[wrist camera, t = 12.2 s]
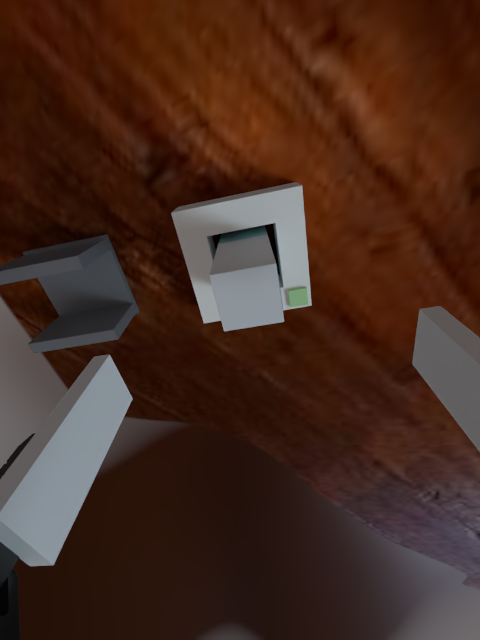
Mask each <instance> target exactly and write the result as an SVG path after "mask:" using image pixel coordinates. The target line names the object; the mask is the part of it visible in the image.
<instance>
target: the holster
mask: <svg viewBox="0 0 480 640" xmlns="http://www.w3.org/2000/svg"><path fill="white" fill-rule="evenodd" d="M23 254H24V255H23V256H21V257H19V258H17V259H15V260H12V261H10V262H8V263H6V264H4V265H2V266H0V285H2V284H7V283H12V282H17V281H22V280H27V279H33V278H38V280H39V282H40V284H41V285H42V287H43V289H44V291H45V292H46V294H47V296H48V297H49V299H50V301H51V303H52V304H53V306H54V308H55V309H56V311H57V313H58V315H59V317H58V318H57V319H56V320H55V321H53V322H52V323H51V324H50V325H49V326H48V327H47V328H45V329H44V330H43V331H42V332H41V333H40V334H39V335H38V336H36V337H35V338H34V339H33V340H32V341H31V342H30V343H28V345H29V347H30V348H31V350H32V351H33V353H38V352H44V351H51V350H57V349H63V348H69V347H75V346H81V345H87V344H93V343H99V342H105V341H111V340H118V339H119V337H120V336H121V334H122V333H123V331H124V330H125V328H126V327H127V325H128V324H129V323H130V321H131V320H132V318H133V317H134V315H135V314H138V313H139V309H138V306H137V304H136V302H135V299H134V297H133V295H132V292H131V290H130V287H129V285H128V283H127V280H126V278H125V275H124V273H123V271H122V268H121V266H120V263H119V261H118V259H117V256H116V254H115V252H114V249H113V247H112V244H111V242H110V240H109V237H108V235H107V234H105V235H100V236H95V237H91V238H86V239H81V240H76V241H71V242H66V243H61V244H57V245H52V246H47V247H42V248H37V249H32V250H28V251H25V252H23Z"/></svg>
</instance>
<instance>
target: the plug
mask: <svg viewBox="0 0 480 640" xmlns="http://www.w3.org/2000/svg"><path fill="white" fill-rule="evenodd" d="M209 276H210V280H211V284H212V288H213V292H214V296H215V300H216V303H217V307H218V311H219V315H220V319H221V322H222V326H223V329H224V331H230V330H236V329H242V328H248V327H254V326H261V325H267V324H273V323H279V322H284V317H283V305H282V298H281V290H280V283H279V275H278V272H277V266H276V261H275V258H274V254H273V251H272V248H271V245H270V241H269V238H268V235H267V231H266V228H265V226H263V227H258V228H253V229H248V230H243V231H238V232H233V233H228V234H222V235H221V236H220V240H219V243H218V247H217V250H216V254H215V257H214V261H213V264H212V268H211V271H210V275H209Z"/></svg>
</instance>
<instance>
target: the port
mask: <svg viewBox="0 0 480 640" xmlns="http://www.w3.org/2000/svg"><path fill="white" fill-rule="evenodd" d="M171 215H172V218H173V222H174V225H175V228H176V232H177V235H178V238H179V242H180V245H181V248H182V252H183V255H184V258H185V262H186V265H187V268H188V272H189V275H190V278H191V282H192V285H193V288H194V292H195V295H196V298H197V302H198V305H199V308H200V312H201V315H202V318H203V322H204V323H209V322H215V321H221V319H220V315H219V311H218V307H217V303H216V300H215V296H214V292H213V288H212V284H211V280H210V276H209V275H210V271H211V268H212V264H213V261H214V257H215V254H216V249H215V245H214V241H213V237H212V235H217V234H222V233H227V232H232V231H237V230H242V229H247V228H252V227H257V226H262V225H267V224H272V223H273V227H274V234H275V242H276V249H277V257H278V264H279V272H280V275H279V283H280V290H281V298H282V305H283V310H288V309H294V308H300V307H306V306H312V305H311V292H310V279H309V267H308V254H307V242H306V229H305V216H304V204H303V191H302V185H300V184H298V183H296V182H293V183H289V184H284V185H279V186H275V187H270V188H265V189H260V190H256V191H251V192H246V193H241V194H237V195H232V196H227V197H222V198H218V199H213V200H208V201H203V202H199V203H194V204H189V205H184V206H180V207H178V208H176V209H175V210H174V211H173V212H171Z"/></svg>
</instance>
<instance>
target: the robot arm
mask: <svg viewBox="0 0 480 640" xmlns="http://www.w3.org/2000/svg"><path fill="white" fill-rule="evenodd" d="M412 364H413V365H414V367H415V368H416V369H417V371H418V372H419V373H420V374H421V376H422V377H423V378H424V380H425V381H426V382H427V384H428V385H429V386H430V388H431V389H432V390H433V391H434V393H435V394H436V395H437V397H438V398H439V399H440V401H441V402H442V403H443V405H444V406H445V407H446V408H447V410H448V411H449V412H450V414H451V415H452V416H453V418H454V419H455V420H456V422H457V423H458V424H459V425H460V427H461V428H462V429H463V431H464V432H465V433H466V435H467V436H468V437H469V438H470V440H471V441H472V442H473V444H474V445H475V446H476V448H477V449H478V450H479V452H480V338H479V337H478V336H477V335H475V334H474V333H473V332H472V331H471V330H469V329H468V328H467V327H466V326H464V325H463V324H462V323H461V322H459V321H458V320H457V319H456V318H454V317H453V316H452V315H451V314H450V313H448V312H447V311H446V310H445V309H443V308H442V307H441V306H438V307H431V308H424V309H419V317H418V324H417V332H416V339H415V347H414V354H413V362H412ZM132 399H133V398H132V396H131V394H130V393H129V391H128V389H127V387H126V385H125V383H124V381H123V379H122V377H121V375H120V374H119V372H118V370H117V368H116V366H115V364H114V362H113V360H112V358H111V356H110V355H103V356H96V357H93V359H92V360H91V361H90V362H89V364H88V365H87V366H86V368H85V369H84V370H83V372H82V373H81V374H80V376H79V377H78V378H77V380H76V381H75V382H74V383H73V385H72V386H71V387H70V389H69V390H68V391H67V393H66V394H65V395H64V397H63V398H62V399H61V401H60V402H59V403H58V404H57V406H56V407H55V408H54V410H53V411H52V412H51V414H50V415H49V416H48V418H47V419H46V420H45V421H44V423H43V424H42V425H41V427H40V428H39V429H38V431H37V432H36V433H34V434H32V435H31V436H30V437H29V438H27V439H26V440H25V441H24V442H23V443H22V444H21V445H19V446H18V448H17V449H16V450H15V451H14V453H13V454H12V455H11V456H10V458H9V459H8V460H7V463H6V464H4V465H3V466H2V468H1V469H0V640H20V627H19V601H18V577H17V574H16V571H15V570H14V569H12V568H13V567H14V565H15V563H16V561H17V560H18V558H20V559H22V560H23V561H24V562H25V563H27V564H28V565H29V566H46V565H53V564H54V563H55V560H56V558H57V556H58V554H59V552H60V550H61V548H62V546H63V543H64V542H65V539H66V537H67V535H68V533H69V531H70V529H71V526H72V525H73V523H74V520H75V518H76V516H77V514H78V512H79V510H80V508H81V506H82V504H83V502H84V500H85V497H86V495H87V493H88V491H89V489H90V487H91V485H92V483H93V481H94V479H95V476H96V474H97V472H98V470H99V468H100V466H101V463H102V462H103V460H104V458H105V455H106V453H107V451H108V449H109V447H110V445H111V443H112V441H113V439H114V437H115V435H116V432H117V430H118V428H119V426H120V424H121V422H122V420H123V418H124V416H125V414H126V411H127V409H128V407H129V405H130V403H131V401H132Z"/></svg>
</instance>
